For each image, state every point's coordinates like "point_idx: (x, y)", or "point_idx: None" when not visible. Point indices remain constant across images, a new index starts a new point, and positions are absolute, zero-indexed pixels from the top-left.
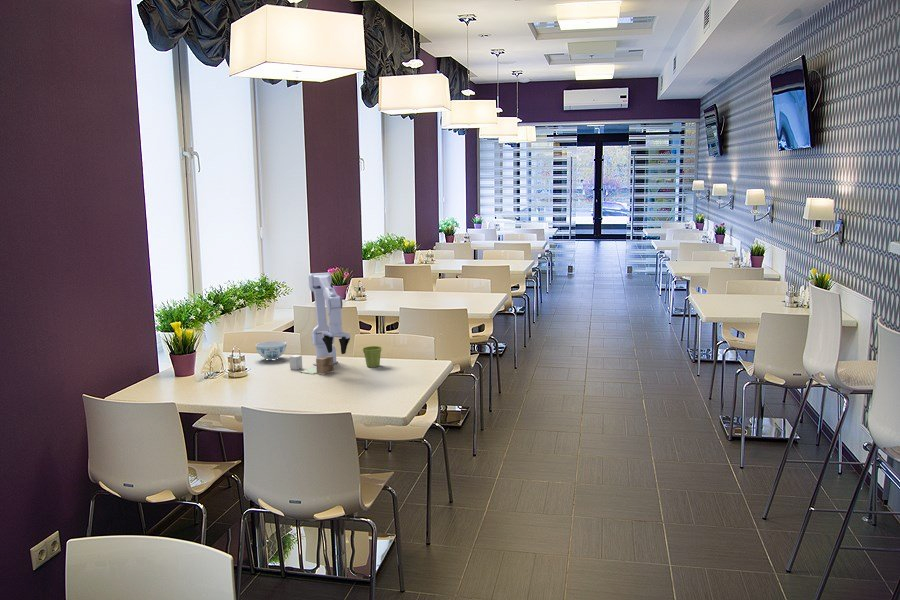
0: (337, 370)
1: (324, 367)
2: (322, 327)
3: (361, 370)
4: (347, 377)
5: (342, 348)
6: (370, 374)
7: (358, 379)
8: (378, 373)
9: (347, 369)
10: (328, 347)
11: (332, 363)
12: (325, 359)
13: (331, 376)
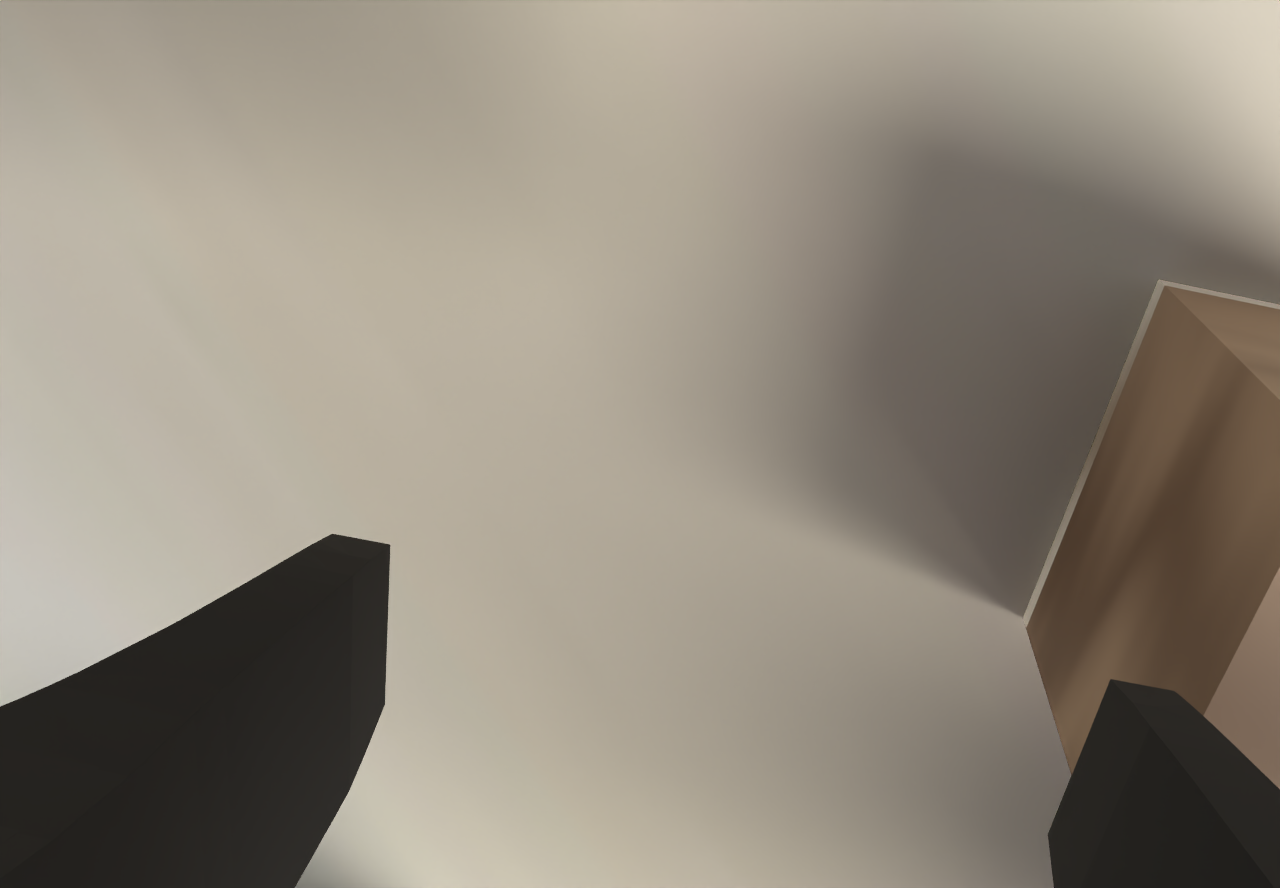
0: (963, 691)
1: (1195, 396)
2: None
3: (456, 757)
4: (377, 144)
5: (140, 646)
6: (87, 510)
7: (8, 26)
8: (6, 607)
9: (781, 790)
10: (1222, 871)
11: (1074, 719)
12: (1256, 577)
13: (837, 135)
